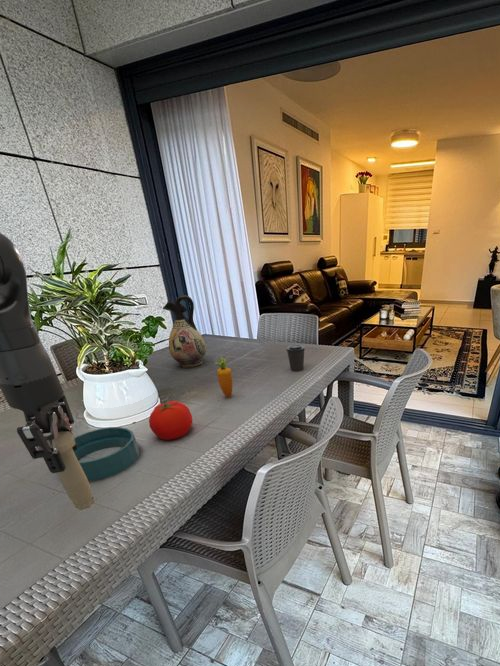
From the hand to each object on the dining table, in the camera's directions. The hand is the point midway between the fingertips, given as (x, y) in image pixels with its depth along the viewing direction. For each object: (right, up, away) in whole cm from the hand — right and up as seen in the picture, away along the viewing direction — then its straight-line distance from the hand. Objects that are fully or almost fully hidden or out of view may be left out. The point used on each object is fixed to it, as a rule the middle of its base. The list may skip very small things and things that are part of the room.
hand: (65, 460), depth 64 cm
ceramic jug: (-12, +34, +96) cm, 103 cm away
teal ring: (-10, -3, +28) cm, 30 cm away
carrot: (+14, +16, +61) cm, 65 cm away
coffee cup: (+37, +30, +86) cm, 98 cm away
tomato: (+3, +3, +40) cm, 40 cm away
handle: (0, -10, +5) cm, 11 cm away
